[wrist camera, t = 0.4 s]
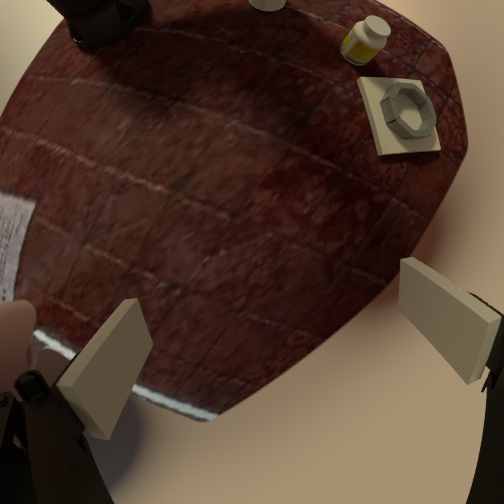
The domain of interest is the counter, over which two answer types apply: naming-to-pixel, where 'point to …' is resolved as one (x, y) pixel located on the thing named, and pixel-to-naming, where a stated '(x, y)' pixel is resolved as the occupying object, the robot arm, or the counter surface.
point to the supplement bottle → (365, 40)
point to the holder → (399, 115)
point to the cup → (268, 4)
